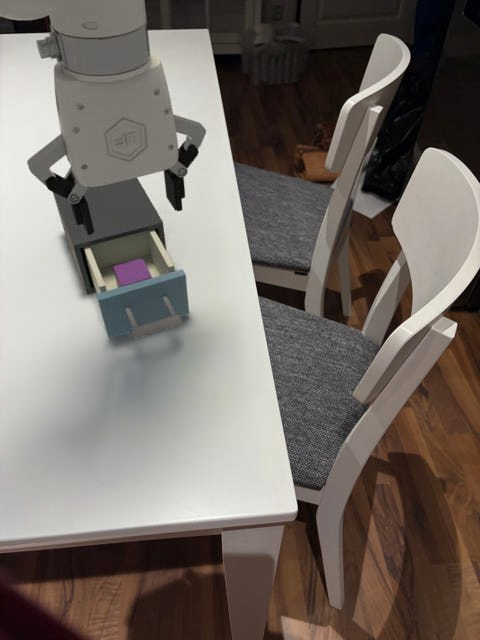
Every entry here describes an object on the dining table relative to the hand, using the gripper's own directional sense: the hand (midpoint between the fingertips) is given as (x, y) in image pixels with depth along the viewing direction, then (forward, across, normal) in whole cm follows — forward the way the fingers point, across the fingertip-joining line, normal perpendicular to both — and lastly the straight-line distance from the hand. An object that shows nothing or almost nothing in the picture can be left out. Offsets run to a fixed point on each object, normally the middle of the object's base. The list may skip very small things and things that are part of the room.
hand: (132, 215), depth 56 cm
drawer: (+19, 0, +6) cm, 20 cm away
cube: (+18, 0, +7) cm, 19 cm away
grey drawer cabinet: (+20, +1, +19) cm, 28 cm away
